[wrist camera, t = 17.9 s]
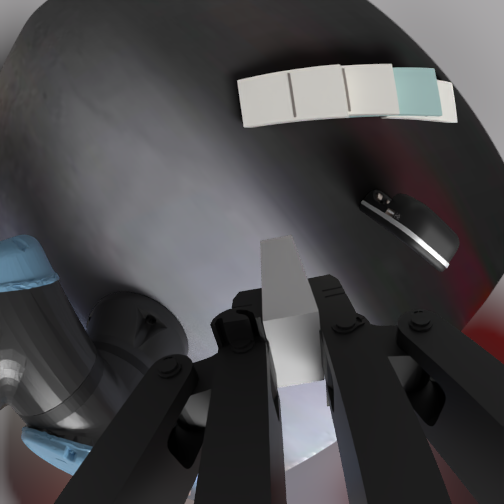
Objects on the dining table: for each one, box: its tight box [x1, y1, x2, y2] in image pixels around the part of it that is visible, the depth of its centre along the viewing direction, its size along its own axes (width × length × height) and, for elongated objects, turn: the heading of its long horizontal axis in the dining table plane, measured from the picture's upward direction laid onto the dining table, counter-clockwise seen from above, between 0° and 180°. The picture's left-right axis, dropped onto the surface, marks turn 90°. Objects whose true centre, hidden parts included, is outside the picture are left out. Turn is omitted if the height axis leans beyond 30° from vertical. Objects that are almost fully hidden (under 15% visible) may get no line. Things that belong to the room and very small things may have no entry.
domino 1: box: [237, 64, 349, 128], centre depth 24 cm, size 2×5×10 cm
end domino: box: [381, 80, 457, 123], centre depth 24 cm, size 2×5×10 cm
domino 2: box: [341, 64, 400, 116], centre depth 23 cm, size 2×5×10 cm
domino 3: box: [349, 68, 442, 117], centre depth 23 cm, size 2×5×10 cm
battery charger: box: [359, 190, 459, 272], centre depth 25 cm, size 7×4×11 cm, turn 60°
